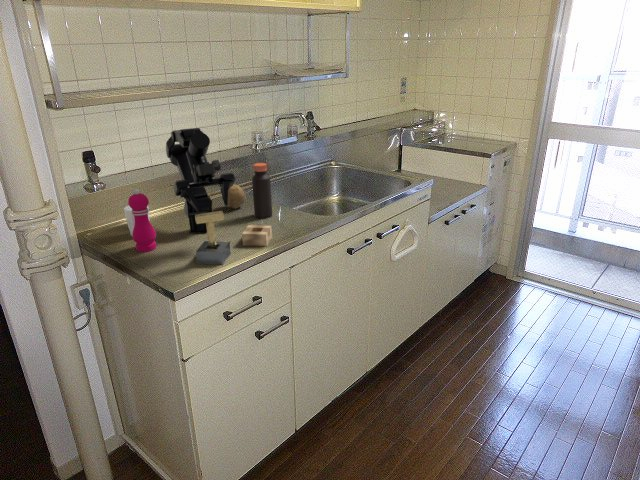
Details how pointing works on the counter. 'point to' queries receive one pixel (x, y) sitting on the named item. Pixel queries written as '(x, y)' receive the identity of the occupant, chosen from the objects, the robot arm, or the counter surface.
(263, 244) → the tan square ring block
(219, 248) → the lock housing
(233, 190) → the natural sponge
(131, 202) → the pepper mill
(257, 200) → the bottle
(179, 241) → the counter surface
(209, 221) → the T-key
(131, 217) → the white cup
